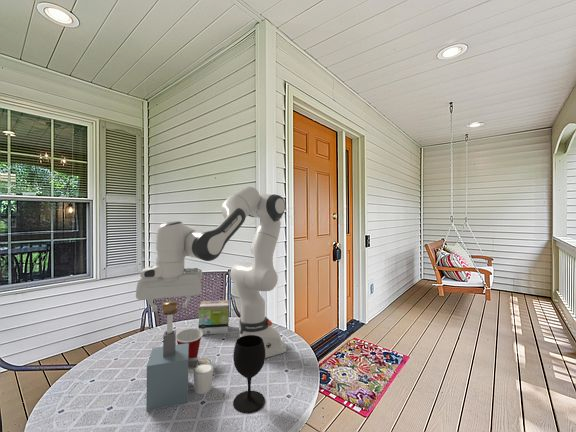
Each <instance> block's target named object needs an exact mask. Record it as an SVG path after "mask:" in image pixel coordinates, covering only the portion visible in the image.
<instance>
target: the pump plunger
mask: <svg viewBox="0 0 576 432" xmlns="http://www.w3.org/2000/svg"><path fill="white" fill-rule="evenodd" d="M178 303H179V301H178V300H168V301H167V300H166V301H164V302H162V304H161V305H162V306H161V314H162V315H166V324H167V325H166V331H167V335H169V334H172V333H173V330H174V329H173V328H174V327H173V325H174V323H173V320H174V318H173V316H174V315H175V314H177V313H178V310H179V309H178V307H179V306H178Z"/></svg>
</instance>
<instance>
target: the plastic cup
mask: <svg viewBox="0 0 576 432" xmlns="http://www.w3.org/2000/svg"><path fill="white" fill-rule="evenodd" d="M203 335H204V334H203V332H202V331H201V330H199V328H192V327H191V328H186V329H183V330H180V331H178V332H177V333H176V343H177V345H178V344H185V343H189V358H195V357H197V358H198V354H199V350H200V346H201V345H200V344H201V340H202V337H203Z"/></svg>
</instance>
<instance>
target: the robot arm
mask: <svg viewBox="0 0 576 432" xmlns="http://www.w3.org/2000/svg"><path fill="white" fill-rule="evenodd" d="M220 209H221V210H220V211H221V214H222V216H223V217H224V219H223V221H221V222H220V224H218V225H217V226H216V228H214V229H211V230H207V231H204V230H196V229H193V228H191V227H189V226H187V225H185V224H184V223H183V222H182V221H180V220H179V221H176V220H175V221H168V222H164V223H161V224H160V225H159V226H158V229H157V233H156V242H155V243H156V246H155V248H156V253H157V254H156V255H157V256H156V259H155V264H154V265H150V266H148V267H145V268H144V269H141V271H140V275H139V276H140V279H139V280H138V282H137V283H136V289H135V298H136V300H138V301H145V300H147V301H148V305H149V306H150V308H151V313H156V312H158V305H155V303H154V300H157V299H168V298H170V299H171V298H180V297H186V300H185V302H182V310H187V309H188V304H189V303H190V301H191V297H193V296H200V295H201V293H202V283H201V280H203V271H202V270H201V269H200V268H198V267H195V268H194V267H193V268H189V267H188V268H185V258H186V257H191V258H194V259H200V260H201V261H202V260H203V261H205V262H211V261H214V260H216V259H217V258H219V256H221V254H222V252H223V250H224V248H225V245H226V244H227V243H228V241H229V240H230V239H231V238H232V237H233V236H234V234H235V233H237V231H238V230H239V229H240V228H241V227H242V226H243V224H244V223H245V221H246V219H247V217H250V218H259V223H258V226H257V229H256V231H255V233H254V236H253V239H252V242H251V245H250V252H251V254H253V262H252V263H249V262H239V263H238V262H237V263H235V264H234V265H233V266H232V267H231V269H230V273H229V277H230V280H231V281H232V283H233V284H234V286H235V289H236V291H237V294H238V299H239V305H240V318H239V323H238V331H239V337H238V338H240V337H242V336H246V335H256V336H259V337H261V338H262V339H263V342H264V346H265V359H267V358H271V357H274V356H277V355H280V354H283V353H284V354H285V353H286V352H287V344H286V343H285V342H284V341H283V340H282V339H281V338H282V337H281V335H280V333H279V332H278V331H277V329H275V328H274V327H273V326H272V325H273V322H272V321H271V320H270V319H269V318H268V317H267V316H266V302H265V299H264V298H263V296H262V295H261V293H260V292H271V291H272V290H274V289H275V288H276V286H277V284H278V278H279V277H278V273H277V271H276V270H275V268H274V267H275V266H274V261H273V260H274V254H275V249H276V246H277V243H278V239H279V236H280V230H281V219H282V217H283V215H284V213H285V210H286V201H285V200H284V198H283V197H282V195H279V194H270V193H269V194H266V193H264V194H263V193H262V194H261V193H259V191H258V189H256V188H255V187H253V186H246V187H243V188H241V189H238V190H237V191H236V192H234V193H233V194H231V195H230V196H229V197H227V198H226V199H225V200H224V201H223V203H222V204H221V208H220Z"/></svg>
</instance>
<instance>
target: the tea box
mask: <svg viewBox="0 0 576 432" xmlns="http://www.w3.org/2000/svg"><path fill="white" fill-rule="evenodd" d="M229 316H230V300H229V299H226V300H224V299H223V300H221V299H219V300H201V301H200V304H199V307H198V329H199V330H201V331H202V332H203V335H216V334H217V335H219V334H220V335H221V334H228V333H229V325H230V324H229V320H230V319H229Z"/></svg>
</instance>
